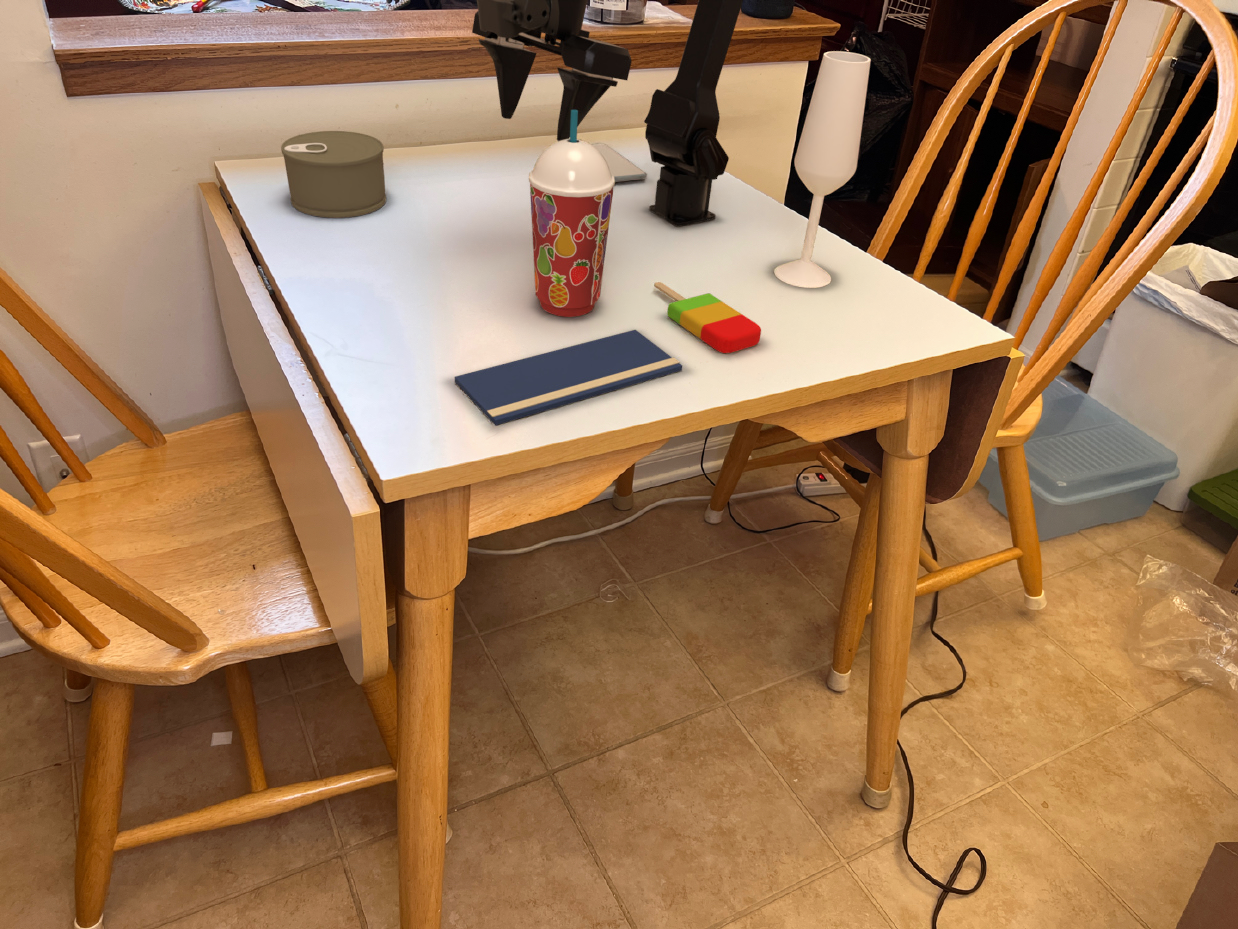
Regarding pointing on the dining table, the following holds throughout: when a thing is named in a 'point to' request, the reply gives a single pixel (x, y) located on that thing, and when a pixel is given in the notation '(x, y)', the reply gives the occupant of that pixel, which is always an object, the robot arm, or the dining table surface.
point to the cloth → (565, 376)
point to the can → (335, 173)
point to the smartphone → (620, 164)
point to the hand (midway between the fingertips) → (533, 129)
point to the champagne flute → (828, 149)
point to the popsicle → (712, 321)
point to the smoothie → (570, 224)
